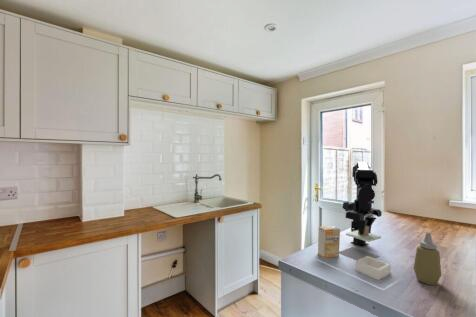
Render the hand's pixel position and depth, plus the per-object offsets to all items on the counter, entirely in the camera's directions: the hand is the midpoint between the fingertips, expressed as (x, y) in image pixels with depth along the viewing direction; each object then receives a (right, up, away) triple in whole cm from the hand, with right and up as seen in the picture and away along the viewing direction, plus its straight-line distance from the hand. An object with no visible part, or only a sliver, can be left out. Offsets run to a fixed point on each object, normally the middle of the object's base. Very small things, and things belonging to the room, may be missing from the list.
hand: (363, 233), depth 103 cm
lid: (0, -1, 0) cm, 1 cm away
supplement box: (-13, -12, +5) cm, 19 cm away
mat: (+1, -12, +6) cm, 14 cm away
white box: (-1, -12, -10) cm, 16 cm away
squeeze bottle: (+15, -13, -15) cm, 25 cm away
